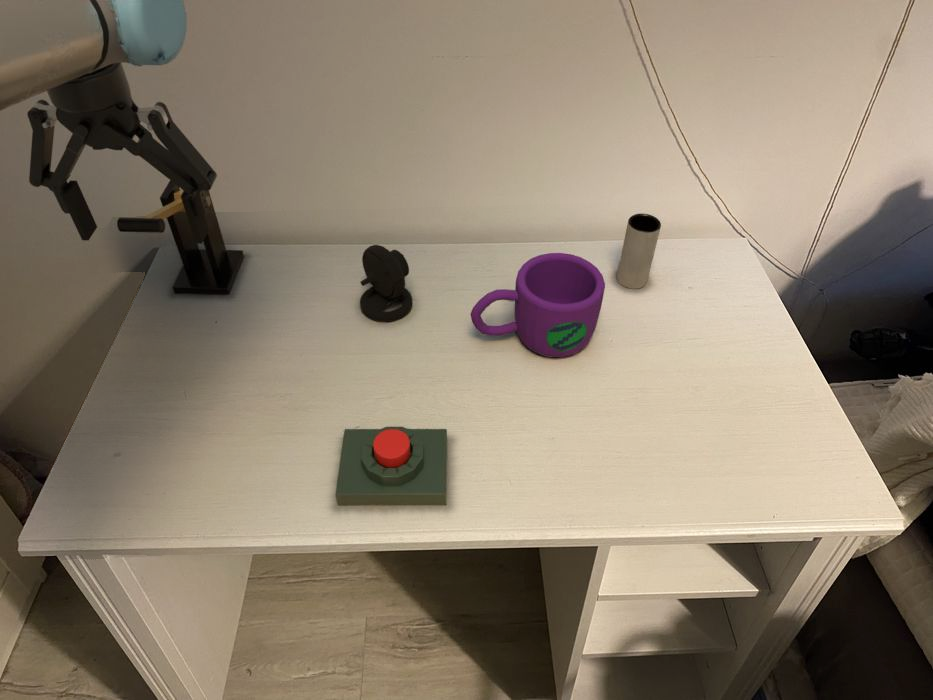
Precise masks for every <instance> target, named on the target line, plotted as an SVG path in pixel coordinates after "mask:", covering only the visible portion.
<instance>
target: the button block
mask: <svg viewBox="0 0 933 700" xmlns="http://www.w3.org/2000/svg"><path fill="white" fill-rule="evenodd" d="M389 429H396V430H400V431H402V432H404V433H405V434H406V435H407V436H408V438H409V441H410V457H409V459H408V460H407V461H406V462H405V463H404V464H402V465H401V466H398V467H392V468H391V467H385V466H382V465H381V464H379V463H378V462H377V460H376V458H375V454H374V447H373V443H374V440H375V438H376V436H377V435H378V434H380V433H381V432H383V431H385V430H389ZM447 465H448V429H447V428H407V427H404V426H384V427H382V428H344V431H343V439H342V446H341V453H340V459H339V467H338V473H337V482H336V488H335V498H336V503H337V506H446V505H447V483H448V482H447V480H448V479H447V477H448V476H447V474H448V471H447V470H448V466H447Z"/></svg>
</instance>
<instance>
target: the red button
mask: <svg viewBox="0 0 933 700" xmlns="http://www.w3.org/2000/svg"><path fill="white" fill-rule="evenodd" d="M373 447H374V454H375V458H376V460H377V462H378V463H379V464H381V465H382V466H385V467H391V468H392V467H398V466H401V465H402V464H404V463H405V462H406V461H407V460H408V459H409V457H410V441H409V438H408V436H407V435H406V434H405V433H404V432H402V431H400V430H396V429H389V430H385V431H383V432H381V433H380V434H378V435H377V436H376V438H375V440H374V443H373Z"/></svg>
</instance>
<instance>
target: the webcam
mask: <svg viewBox="0 0 933 700" xmlns="http://www.w3.org/2000/svg"><path fill="white" fill-rule="evenodd" d="M361 263H362V267H363V271H364V274H365V275H366V277H365V278H363V279H361V281H360V285H361V286H362V287H364V286H366V285H369V284H370V285H371V286H370V287H368V289H366V290H365V291H364V292H363V293H362V294H361V296H360V299H359V300H360V301H359V306H360V310H361V313H362V314H364V315H365V316H366V317H367V318H369V319H371V320H373V321H376V322H380V323H381V322H382V323H383V322H384V323H387V322H394V321H398V320H401V319H402V318H404V317H406V315H408V314H409V312H410V311H411V309H412V307H413V296H412V294H411V292H410V291H409V290H408V289H407V288H406V279H405V278H406V277H407V276H409V274H410V267H409V264H408V261H407V259H406V257H405V256H404V255H403V254H402V252H400V251H399V250H398V249H392V250H389V249H387V248H386V247H385V246H383V245H381V244H380V245H379V244H372V245H369V246H367V248H366V249H365V250H364V251H363V253H362V256H361ZM397 300H402V303H401V305H399V307H397V308H395V309H392V310H387V311H386V310H385V311H384V309H385V308H386V307H387V306H389V305H390V304H391V303H393V302H395V301H397Z"/></svg>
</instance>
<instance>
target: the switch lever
mask: <svg viewBox="0 0 933 700" xmlns="http://www.w3.org/2000/svg"><path fill="white" fill-rule="evenodd" d="M183 191H184V190H182V189H180V191H178V192H176V193H174V200H175V201H174V202H172V203H170V204H168V205H166V206H164V207H163V206H162V207H160V208H158V209H156V210H154V211H153V212H150V213H148V214H147V215H145V216H143V217H122V216H121V217H118V219H117V221H116V226H117V230H118V231H119V232H121V233H151V234H152V233H156V234H163V233H164V232H165V230H166V222H165V219H166V220H167V217H169V216H171V215H173V214H174V213H176V212H178V211H185V208H184V205H183V202H182V199H181V195H182V193H183Z"/></svg>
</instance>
